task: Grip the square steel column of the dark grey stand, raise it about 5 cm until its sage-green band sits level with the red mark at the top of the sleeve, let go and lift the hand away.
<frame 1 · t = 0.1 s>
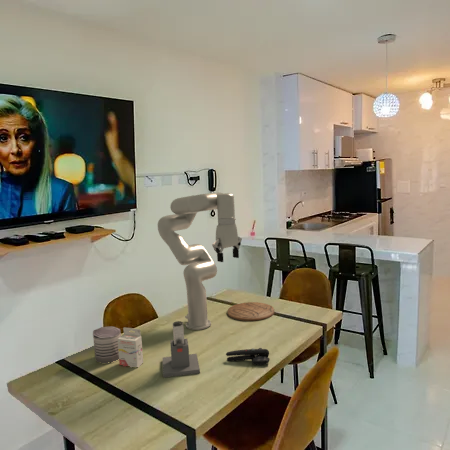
hand: (228, 259, 186), 37 cm above the table, tool pointing down, fingers open, 9 cm apart
can opener: (247, 362, 167), on the table
stand: (180, 366, 165), on the table
column: (179, 343, 164), point 10 cm above the table, slide at 0.0 cm
trivet: (251, 313, 223), on the table
ink cartridge box: (131, 365, 169), on the table
can: (109, 358, 177), on the table
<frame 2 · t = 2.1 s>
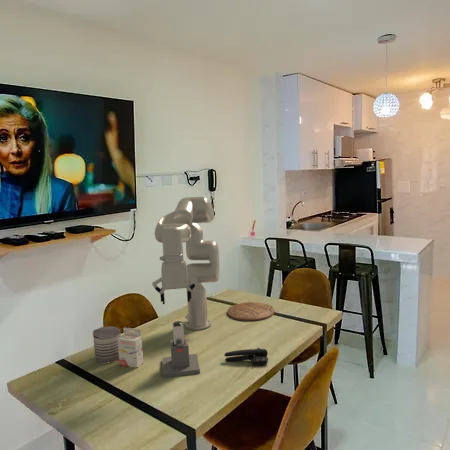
hand: (176, 302, 161), 27 cm above the table, tool pointing down, fingers open, 9 cm apart
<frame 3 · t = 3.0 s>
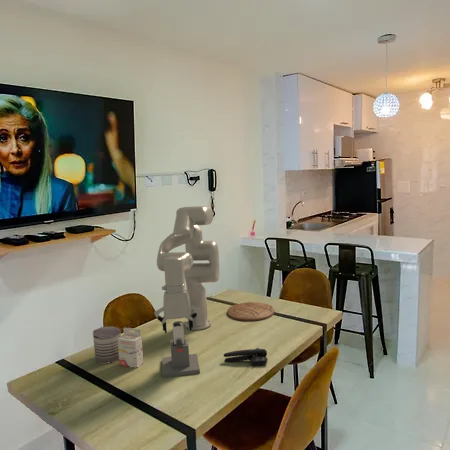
hand: (178, 330, 163), 15 cm above the table, tool pointing down, fingers open, 9 cm apart
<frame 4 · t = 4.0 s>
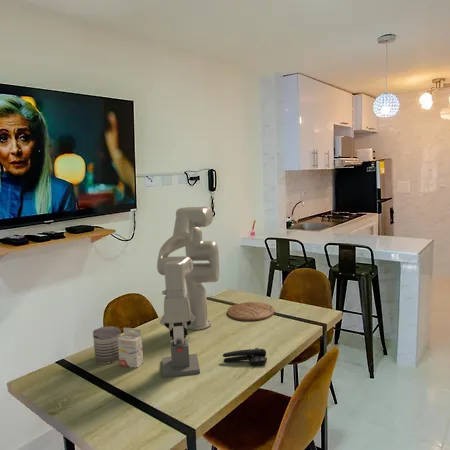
hand: (178, 337, 164), 12 cm above the table, tool pointing down, fingers closed on column, 4 cm apart
column: (179, 343, 164), point 10 cm above the table, slide at 0.0 cm, touching gripper
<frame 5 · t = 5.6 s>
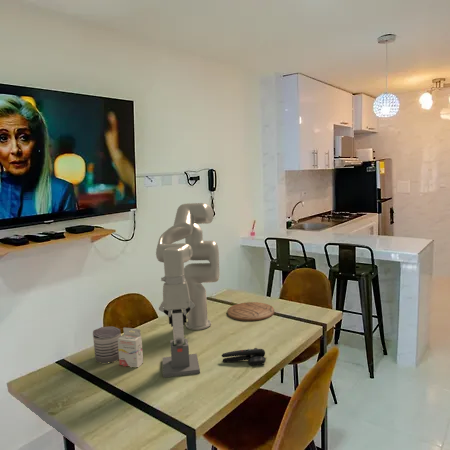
hand: (177, 324, 163), 18 cm above the table, tool pointing down, fingers closed on column, 4 cm apart
column: (178, 330, 163), point 15 cm above the table, slide at 5.3 cm, touching gripper
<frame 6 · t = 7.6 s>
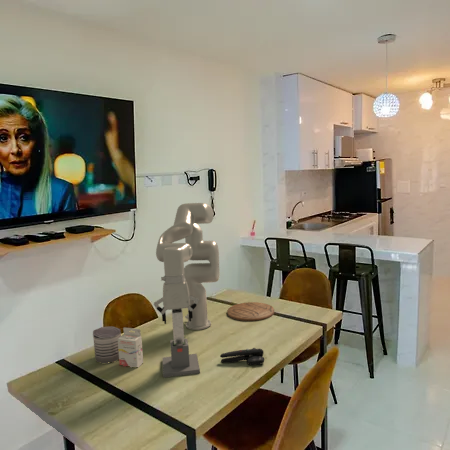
hand: (177, 321, 163), 19 cm above the table, tool pointing down, fingers open, 9 cm apart
column: (178, 329, 163), point 15 cm above the table, slide at 5.4 cm
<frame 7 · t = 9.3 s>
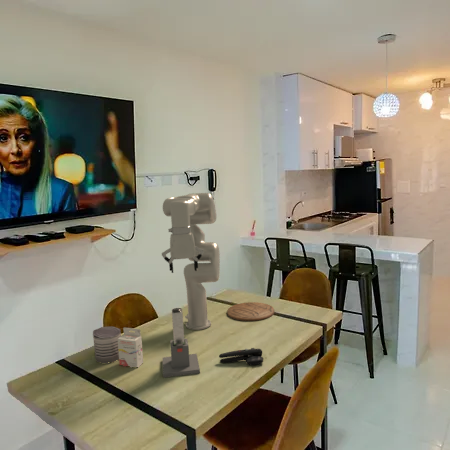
hand: (184, 271, 173), 36 cm above the table, tool pointing down, fingers open, 9 cm apart
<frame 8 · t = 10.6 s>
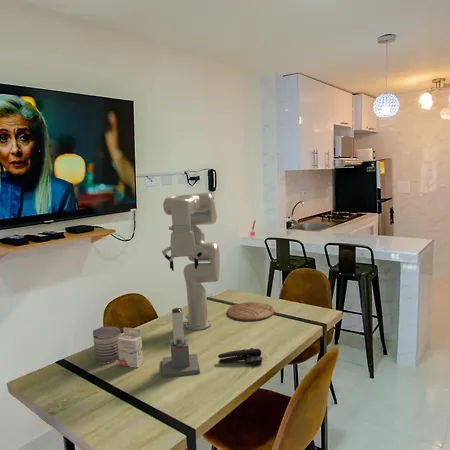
hand: (184, 269, 173), 36 cm above the table, tool pointing down, fingers open, 9 cm apart
at the end: column slide at 5.4 cm; the gripper is holding nothing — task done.
